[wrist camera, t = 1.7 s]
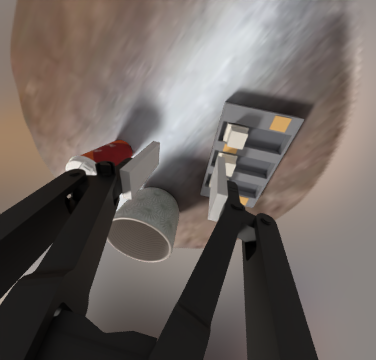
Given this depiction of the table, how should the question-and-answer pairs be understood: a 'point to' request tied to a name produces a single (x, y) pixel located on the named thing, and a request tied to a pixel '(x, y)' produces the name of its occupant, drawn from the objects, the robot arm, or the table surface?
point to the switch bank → (253, 148)
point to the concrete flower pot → (146, 226)
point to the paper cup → (101, 156)
